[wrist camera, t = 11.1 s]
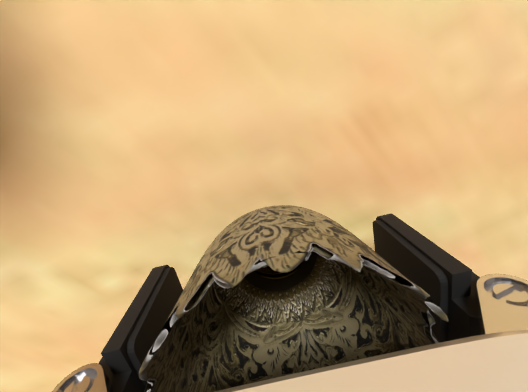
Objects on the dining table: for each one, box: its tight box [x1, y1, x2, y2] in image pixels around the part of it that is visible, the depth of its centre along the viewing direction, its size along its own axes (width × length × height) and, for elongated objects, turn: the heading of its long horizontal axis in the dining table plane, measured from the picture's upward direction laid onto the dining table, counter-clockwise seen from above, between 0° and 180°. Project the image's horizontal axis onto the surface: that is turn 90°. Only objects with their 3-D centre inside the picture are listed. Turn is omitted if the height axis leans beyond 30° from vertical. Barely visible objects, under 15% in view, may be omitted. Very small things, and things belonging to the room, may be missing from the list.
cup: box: [139, 205, 449, 392], centre depth 9 cm, size 7×7×8 cm
